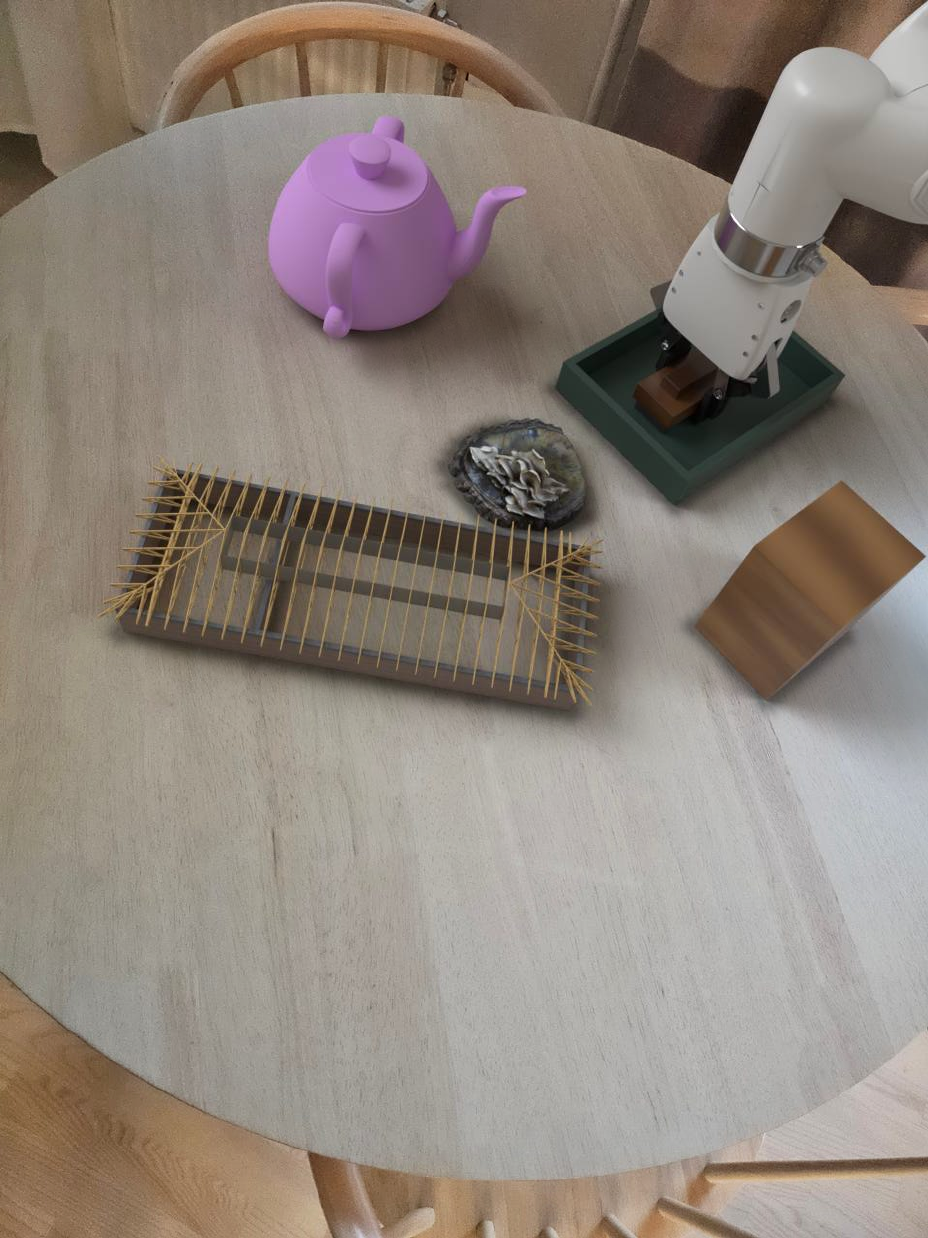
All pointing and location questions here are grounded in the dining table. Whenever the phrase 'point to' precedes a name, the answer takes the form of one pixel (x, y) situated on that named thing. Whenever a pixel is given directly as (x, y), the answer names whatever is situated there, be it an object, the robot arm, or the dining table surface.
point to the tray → (688, 450)
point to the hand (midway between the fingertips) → (684, 396)
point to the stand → (806, 587)
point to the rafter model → (354, 582)
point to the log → (520, 475)
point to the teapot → (373, 233)
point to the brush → (675, 390)
